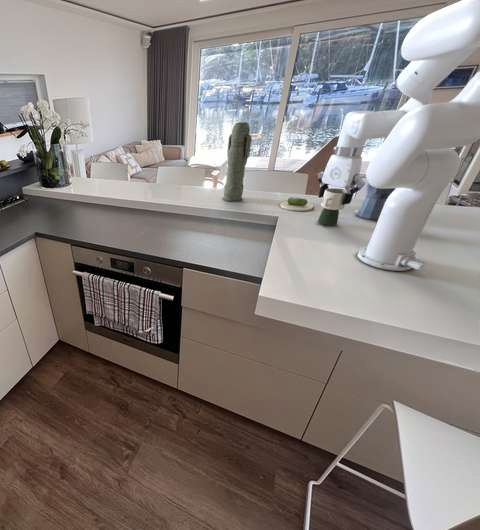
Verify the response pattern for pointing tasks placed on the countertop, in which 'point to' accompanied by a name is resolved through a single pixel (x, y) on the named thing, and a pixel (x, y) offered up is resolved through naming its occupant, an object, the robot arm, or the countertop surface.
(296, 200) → the pickle
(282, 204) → the plate
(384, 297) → the countertop surface
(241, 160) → the green cactus figure
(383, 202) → the moka pot
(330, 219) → the character mug
